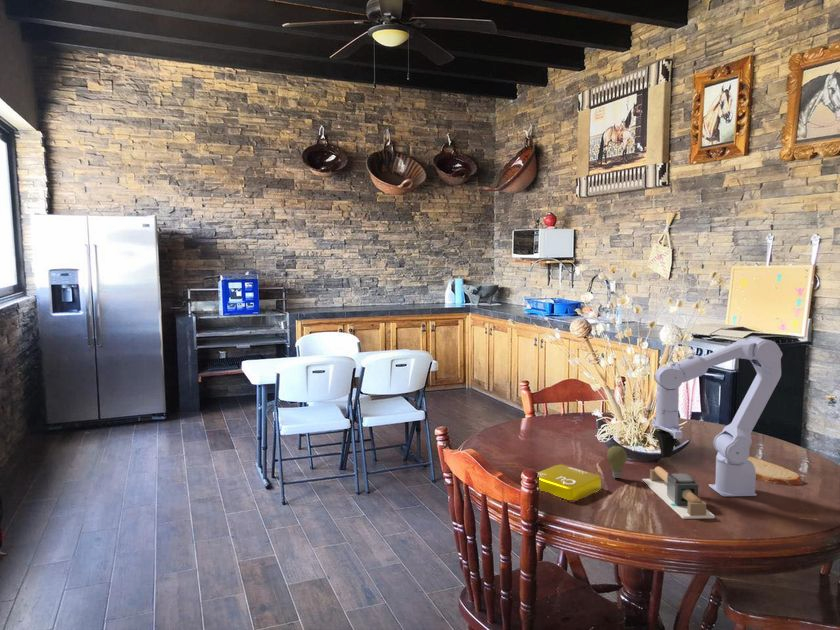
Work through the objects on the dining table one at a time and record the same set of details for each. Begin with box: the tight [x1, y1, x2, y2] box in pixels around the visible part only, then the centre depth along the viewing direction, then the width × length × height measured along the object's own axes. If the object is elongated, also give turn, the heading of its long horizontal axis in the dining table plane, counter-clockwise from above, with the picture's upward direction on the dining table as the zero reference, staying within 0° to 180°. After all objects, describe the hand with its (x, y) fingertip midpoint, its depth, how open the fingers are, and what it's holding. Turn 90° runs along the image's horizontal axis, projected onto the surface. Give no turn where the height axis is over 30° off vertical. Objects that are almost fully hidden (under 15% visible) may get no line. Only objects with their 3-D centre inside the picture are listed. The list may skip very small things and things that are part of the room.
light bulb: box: [606, 445, 628, 479], centre depth 175 cm, size 6×6×10 cm
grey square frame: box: [675, 482, 699, 505], centre depth 154 cm, size 1×5×5 cm, turn 91°
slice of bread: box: [747, 455, 804, 486], centre depth 178 cm, size 18×18×4 cm
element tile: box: [537, 463, 602, 500], centre depth 168 cm, size 15×15×5 cm
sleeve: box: [667, 473, 696, 502], centre depth 157 cm, size 5×5×6 cm
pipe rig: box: [642, 466, 716, 520], centre depth 160 cm, size 26×8×5 cm, turn 1°
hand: (666, 456), depth 166 cm, fingers closed
